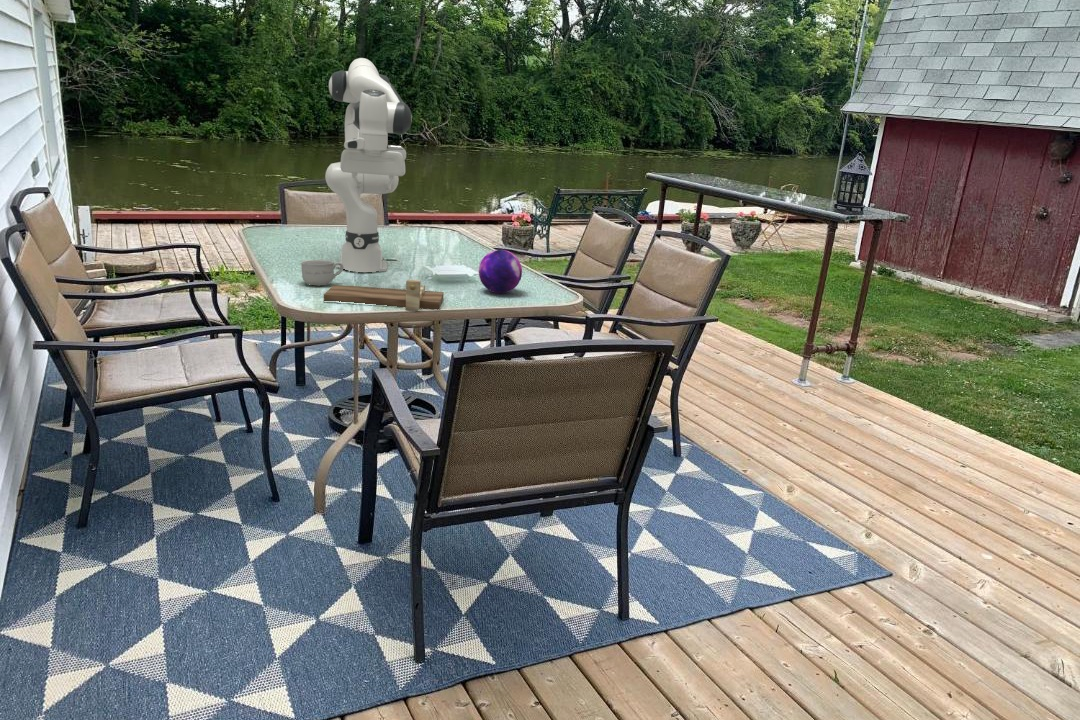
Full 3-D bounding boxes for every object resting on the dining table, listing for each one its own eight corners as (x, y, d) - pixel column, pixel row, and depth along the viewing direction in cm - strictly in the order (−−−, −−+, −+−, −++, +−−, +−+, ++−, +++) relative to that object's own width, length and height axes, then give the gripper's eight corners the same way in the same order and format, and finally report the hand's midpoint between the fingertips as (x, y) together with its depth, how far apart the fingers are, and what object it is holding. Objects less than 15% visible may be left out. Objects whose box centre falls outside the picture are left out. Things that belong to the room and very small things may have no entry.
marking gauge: (412, 297, 265) (413, 270, 262) (424, 298, 265) (425, 271, 262) (405, 310, 249) (406, 281, 246) (418, 311, 249) (419, 282, 246)
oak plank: (333, 292, 265) (333, 284, 264) (443, 299, 266) (443, 291, 266) (323, 302, 252) (323, 294, 251) (439, 309, 253) (439, 302, 252)
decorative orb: (488, 285, 291) (490, 244, 286) (527, 291, 286) (529, 249, 281) (470, 293, 277) (472, 250, 273) (510, 300, 272) (513, 256, 268)
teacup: (301, 288, 267) (301, 264, 265) (301, 280, 277) (300, 257, 275) (344, 288, 271) (344, 264, 269) (342, 281, 281) (342, 258, 279)
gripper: (407, 145, 257) (407, 189, 261) (343, 141, 256) (343, 185, 260) (405, 147, 251) (404, 191, 255) (338, 142, 250) (339, 187, 254)
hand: (373, 188), depth 258 cm, fingers open, 8 cm apart
